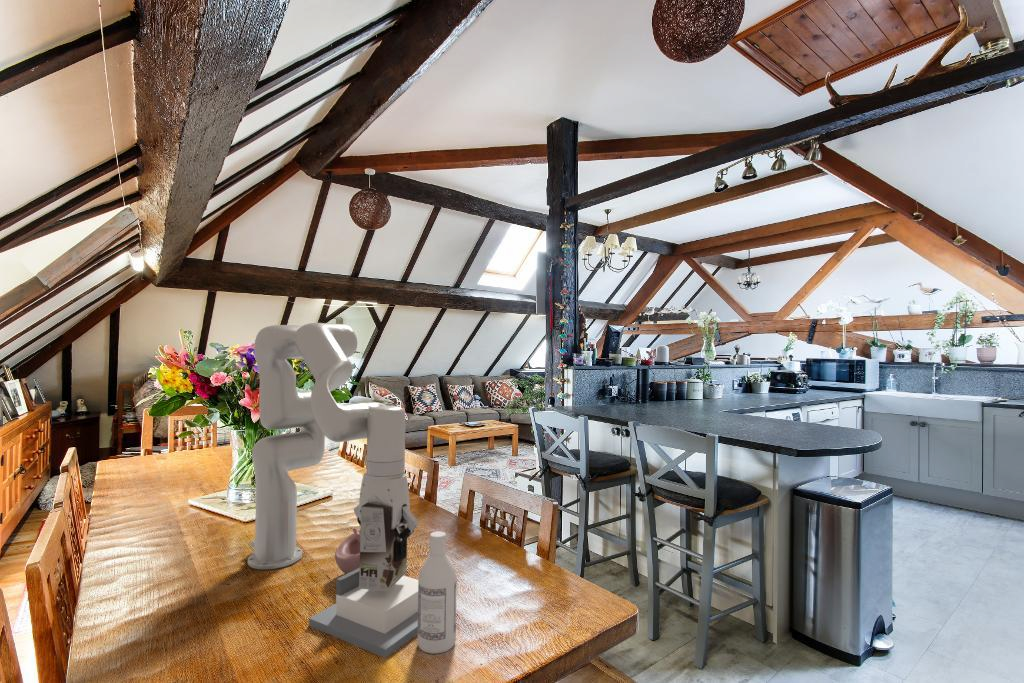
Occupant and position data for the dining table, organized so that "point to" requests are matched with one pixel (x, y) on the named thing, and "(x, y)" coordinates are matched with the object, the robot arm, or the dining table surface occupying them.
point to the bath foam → (437, 599)
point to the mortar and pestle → (349, 553)
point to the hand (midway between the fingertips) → (384, 554)
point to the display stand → (371, 615)
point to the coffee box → (378, 550)
